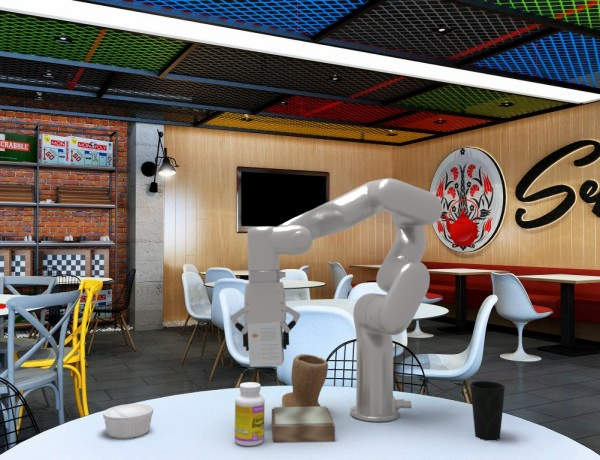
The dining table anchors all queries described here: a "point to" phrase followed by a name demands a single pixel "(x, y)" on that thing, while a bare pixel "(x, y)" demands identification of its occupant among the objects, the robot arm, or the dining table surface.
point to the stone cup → (306, 381)
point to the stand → (302, 424)
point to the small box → (265, 344)
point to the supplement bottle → (249, 415)
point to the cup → (487, 408)
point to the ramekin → (128, 420)
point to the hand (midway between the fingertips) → (266, 348)
